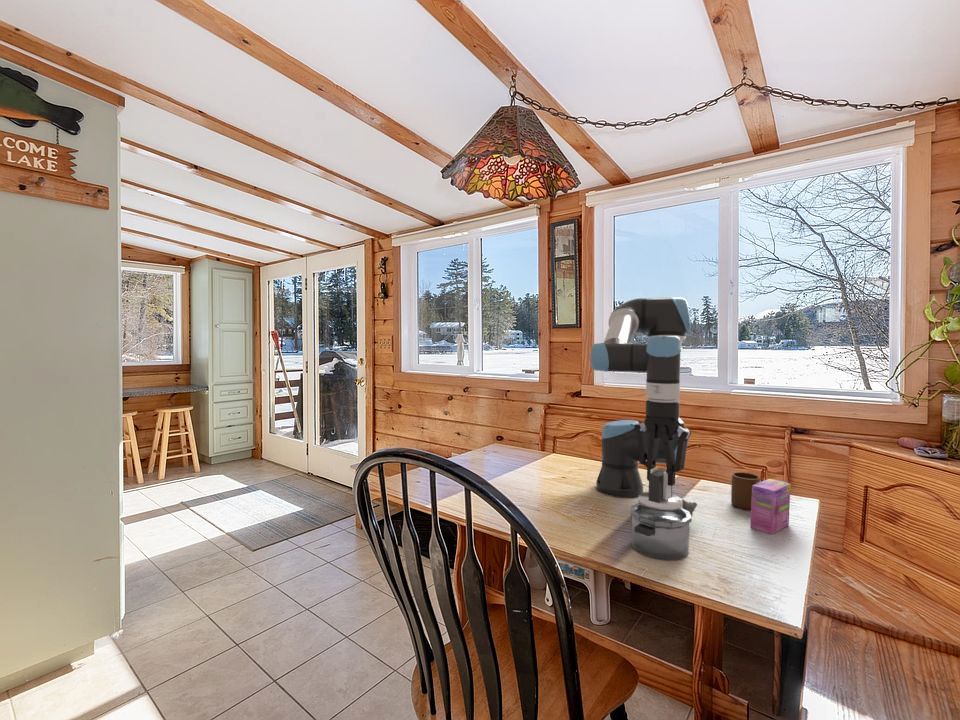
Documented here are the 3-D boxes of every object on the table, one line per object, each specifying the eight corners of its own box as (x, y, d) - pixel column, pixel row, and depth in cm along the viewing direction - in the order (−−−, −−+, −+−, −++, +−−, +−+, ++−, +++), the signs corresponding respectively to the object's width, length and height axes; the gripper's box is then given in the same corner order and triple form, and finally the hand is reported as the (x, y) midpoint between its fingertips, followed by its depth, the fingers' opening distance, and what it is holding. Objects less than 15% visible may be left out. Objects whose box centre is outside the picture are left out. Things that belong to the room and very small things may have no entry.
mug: (777, 515, 137) (778, 483, 136) (754, 517, 135) (755, 484, 135) (746, 501, 148) (747, 471, 148) (725, 502, 147) (726, 472, 147)
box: (772, 535, 123) (774, 490, 123) (749, 527, 128) (751, 484, 127) (789, 525, 129) (791, 483, 129) (767, 519, 134) (768, 478, 133)
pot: (614, 550, 114) (615, 514, 114) (650, 529, 127) (651, 496, 126) (670, 570, 104) (671, 530, 104) (702, 545, 117) (703, 509, 117)
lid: (631, 503, 115) (631, 472, 115) (650, 494, 122) (650, 464, 122) (671, 514, 108) (672, 481, 108) (689, 504, 115) (690, 472, 114)
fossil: (678, 516, 136) (679, 488, 136) (705, 527, 128) (706, 498, 128) (649, 522, 131) (650, 494, 131) (675, 535, 123) (676, 504, 123)
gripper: (624, 398, 117) (623, 492, 118) (688, 405, 106) (686, 508, 107) (639, 395, 122) (637, 485, 123) (702, 401, 111) (699, 500, 112)
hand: (660, 496), depth 115 cm, fingers closed on lid, 3 cm apart
